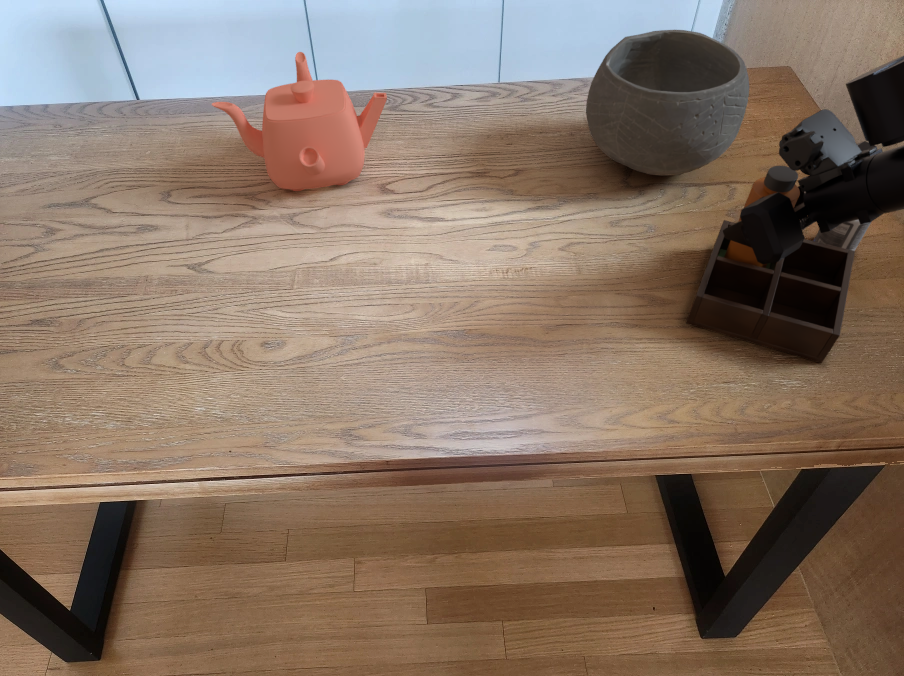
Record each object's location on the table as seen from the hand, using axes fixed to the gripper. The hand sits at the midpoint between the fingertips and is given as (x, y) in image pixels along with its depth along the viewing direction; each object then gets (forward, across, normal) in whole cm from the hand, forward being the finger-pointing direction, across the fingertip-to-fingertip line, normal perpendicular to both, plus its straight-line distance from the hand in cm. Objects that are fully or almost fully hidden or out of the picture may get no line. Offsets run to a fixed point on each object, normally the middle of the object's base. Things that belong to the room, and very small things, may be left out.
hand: (749, 219), depth 78 cm
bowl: (+22, -10, -10) cm, 26 cm away
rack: (+1, +1, +10) cm, 10 cm away
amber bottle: (+4, 0, +6) cm, 7 cm away
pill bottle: (+2, -13, +9) cm, 16 cm away
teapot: (+43, +31, -32) cm, 62 cm away
